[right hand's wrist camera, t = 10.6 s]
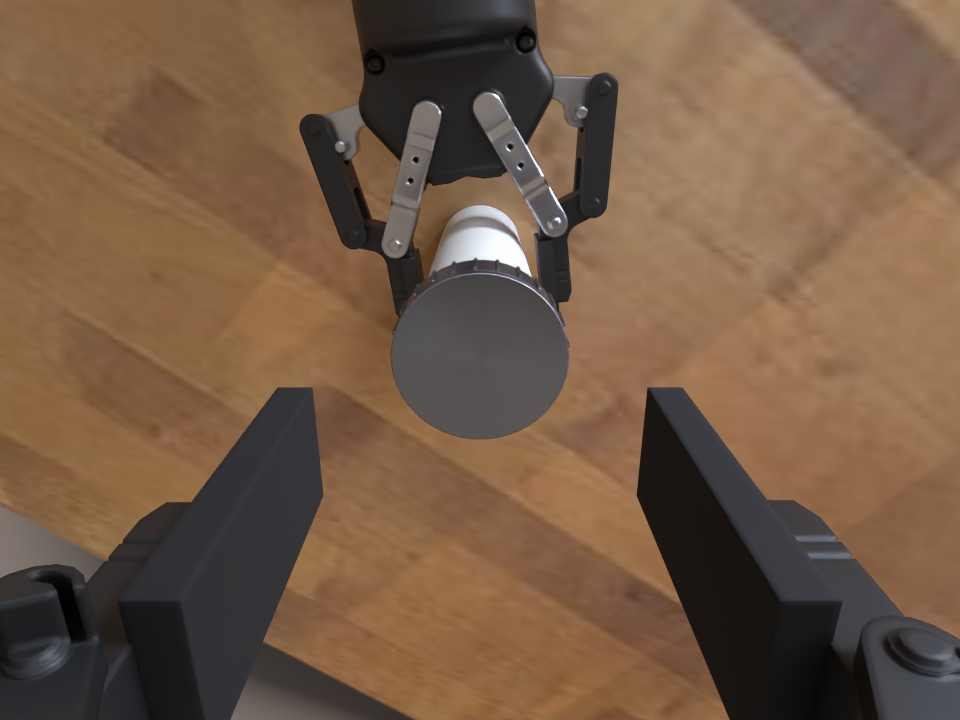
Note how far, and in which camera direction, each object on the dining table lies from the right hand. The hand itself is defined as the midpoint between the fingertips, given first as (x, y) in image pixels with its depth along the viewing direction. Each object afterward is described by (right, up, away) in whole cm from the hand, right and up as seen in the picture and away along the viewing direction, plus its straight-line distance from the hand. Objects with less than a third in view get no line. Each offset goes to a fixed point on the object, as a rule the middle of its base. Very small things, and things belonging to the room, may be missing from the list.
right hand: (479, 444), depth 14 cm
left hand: (0, +4, +17) cm, 18 cm away
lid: (0, +2, +5) cm, 6 cm away
